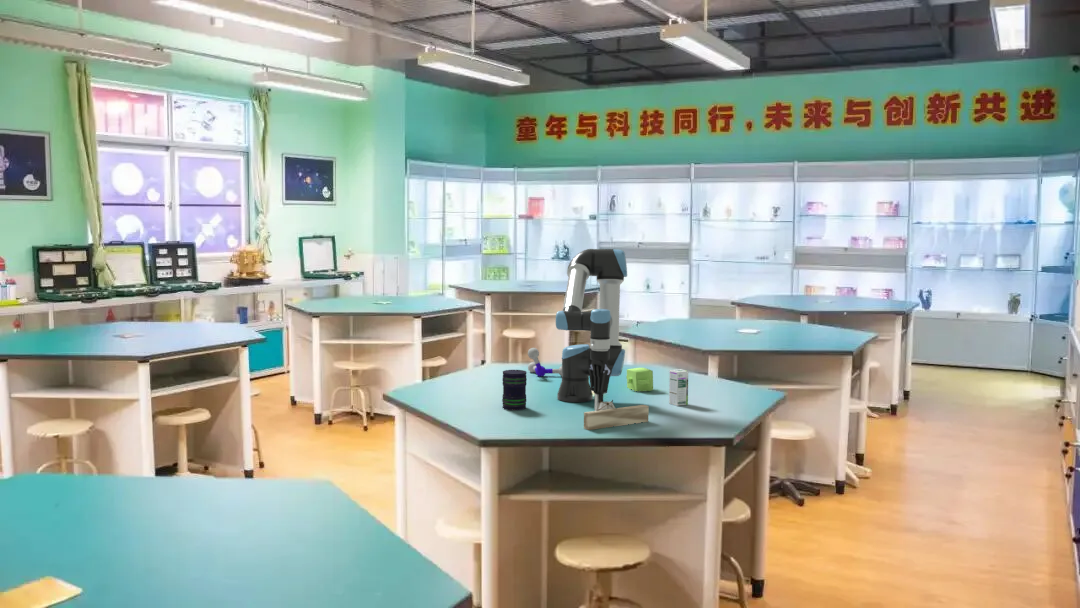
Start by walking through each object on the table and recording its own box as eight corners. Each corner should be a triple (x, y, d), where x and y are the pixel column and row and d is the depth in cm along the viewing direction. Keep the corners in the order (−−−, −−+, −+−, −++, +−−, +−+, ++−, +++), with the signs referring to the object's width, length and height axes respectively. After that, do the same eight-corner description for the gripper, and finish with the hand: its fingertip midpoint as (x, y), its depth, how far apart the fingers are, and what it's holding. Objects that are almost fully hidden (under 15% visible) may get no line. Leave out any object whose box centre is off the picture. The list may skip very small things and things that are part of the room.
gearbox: (619, 387, 405) (619, 367, 404) (639, 385, 408) (638, 365, 407) (635, 393, 388) (635, 372, 387) (656, 391, 391) (655, 371, 390)
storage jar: (518, 411, 347) (518, 374, 346) (497, 408, 352) (497, 372, 351) (530, 407, 356) (531, 371, 355) (510, 404, 361) (510, 368, 359)
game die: (608, 431, 330) (612, 415, 323) (589, 421, 333) (592, 405, 326) (620, 416, 336) (623, 400, 329) (601, 406, 339) (604, 390, 332)
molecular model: (569, 379, 422) (570, 349, 420) (527, 379, 422) (527, 348, 420) (568, 372, 443) (568, 343, 442) (527, 371, 443) (528, 342, 442)
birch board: (583, 428, 320) (583, 412, 319) (643, 420, 334) (643, 404, 334) (588, 430, 317) (588, 413, 316) (648, 421, 332) (648, 406, 331)
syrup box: (676, 406, 361) (677, 371, 360) (668, 403, 367) (669, 369, 365) (688, 405, 364) (688, 370, 363) (679, 402, 369) (680, 368, 368)
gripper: (582, 348, 336) (580, 408, 339) (601, 352, 325) (600, 414, 328) (597, 346, 340) (596, 406, 342) (617, 351, 329) (616, 412, 332)
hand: (598, 410), depth 335 cm, fingers closed
